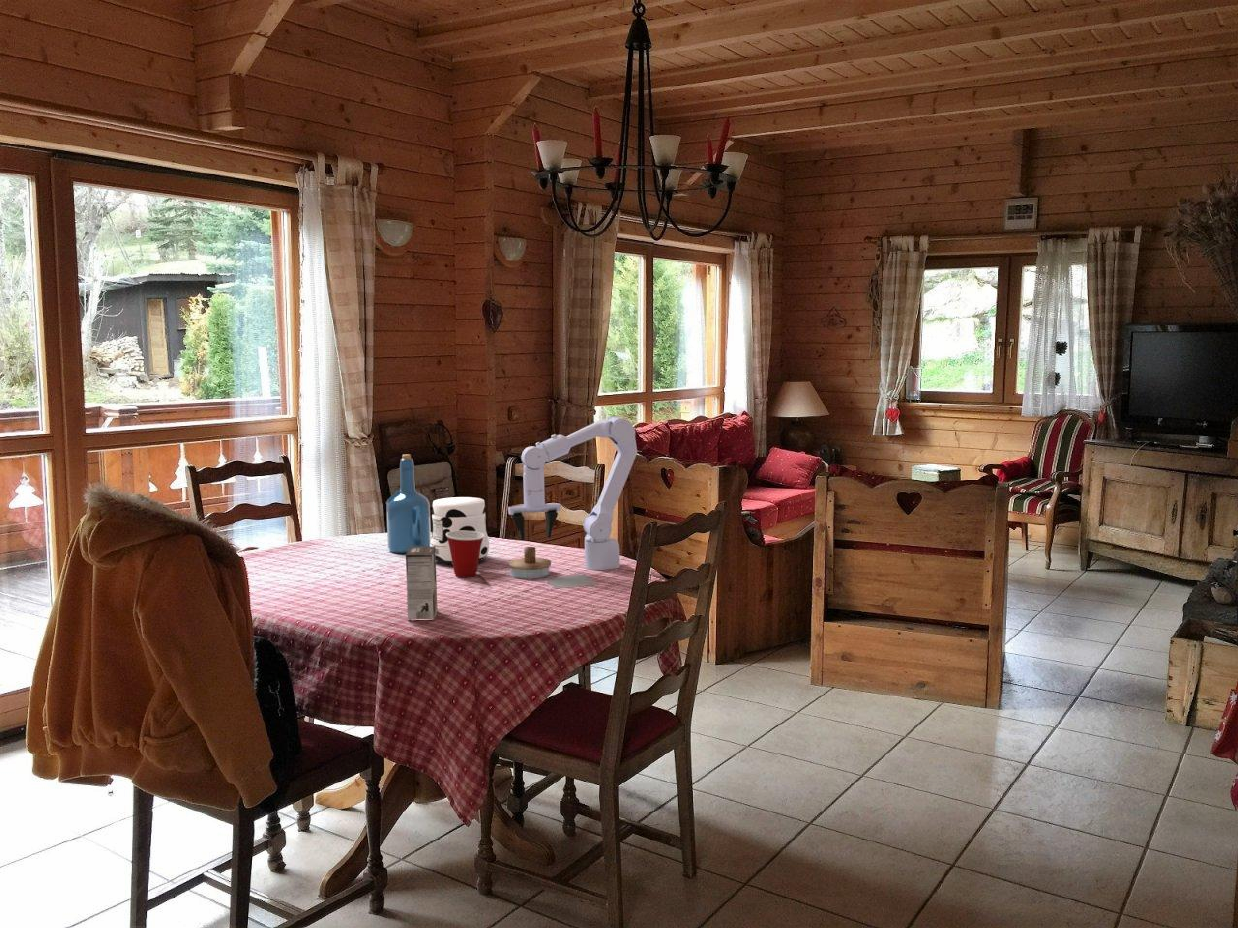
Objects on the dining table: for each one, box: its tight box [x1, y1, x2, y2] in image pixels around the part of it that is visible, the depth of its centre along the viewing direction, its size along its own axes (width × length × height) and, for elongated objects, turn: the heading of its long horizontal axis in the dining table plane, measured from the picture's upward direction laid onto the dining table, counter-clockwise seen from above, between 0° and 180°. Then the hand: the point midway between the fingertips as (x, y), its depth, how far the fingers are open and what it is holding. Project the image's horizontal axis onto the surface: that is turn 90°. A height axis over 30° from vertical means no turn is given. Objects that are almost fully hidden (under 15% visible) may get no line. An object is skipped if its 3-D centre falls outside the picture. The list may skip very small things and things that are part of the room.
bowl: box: [509, 567, 550, 579], centre depth 282 cm, size 10×10×4 cm
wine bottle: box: [385, 453, 432, 555], centre depth 317 cm, size 14×13×30 cm
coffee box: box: [405, 546, 439, 620], centre depth 244 cm, size 9×6×16 cm
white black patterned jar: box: [430, 496, 490, 565], centre depth 302 cm, size 17×17×18 cm
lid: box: [508, 546, 552, 570], centre depth 281 cm, size 12×12×5 cm
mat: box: [542, 574, 600, 589], centre depth 274 cm, size 12×12×1 cm
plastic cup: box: [446, 530, 485, 578], centre depth 284 cm, size 11×11×12 cm
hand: (535, 538), depth 284 cm, fingers open, 7 cm apart
